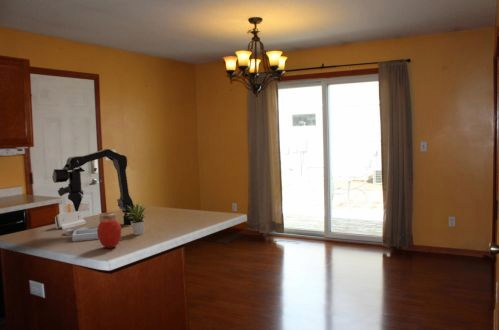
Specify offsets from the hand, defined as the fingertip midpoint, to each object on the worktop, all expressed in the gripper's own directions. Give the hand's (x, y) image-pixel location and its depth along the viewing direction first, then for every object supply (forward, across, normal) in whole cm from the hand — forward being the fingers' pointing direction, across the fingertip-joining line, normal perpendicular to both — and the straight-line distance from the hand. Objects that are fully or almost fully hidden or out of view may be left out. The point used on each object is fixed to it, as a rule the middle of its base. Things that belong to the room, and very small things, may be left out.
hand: (77, 210), depth 216 cm
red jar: (+12, +39, +16) cm, 44 cm away
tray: (+12, +13, +7) cm, 19 cm away
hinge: (+12, -22, -6) cm, 26 cm away
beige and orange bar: (0, 0, 0) cm, 0 cm away
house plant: (+12, +15, +29) cm, 35 cm away
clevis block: (+12, 0, +6) cm, 14 cm away
